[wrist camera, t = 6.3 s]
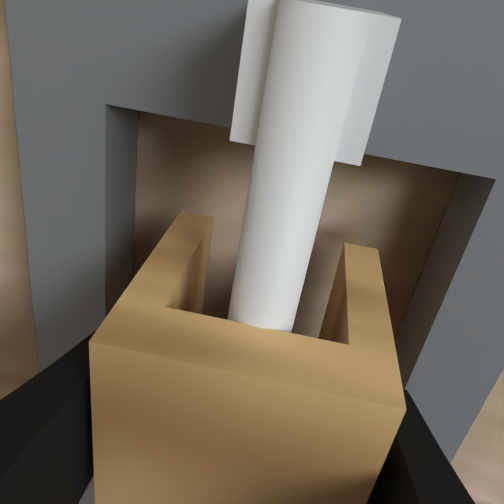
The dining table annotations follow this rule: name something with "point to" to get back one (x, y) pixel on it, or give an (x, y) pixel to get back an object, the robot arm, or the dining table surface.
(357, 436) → the ochre u-shaped block
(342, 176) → the dining table surface
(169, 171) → the dining table surface
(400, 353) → the grey slotted base plate
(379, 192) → the dining table surface
